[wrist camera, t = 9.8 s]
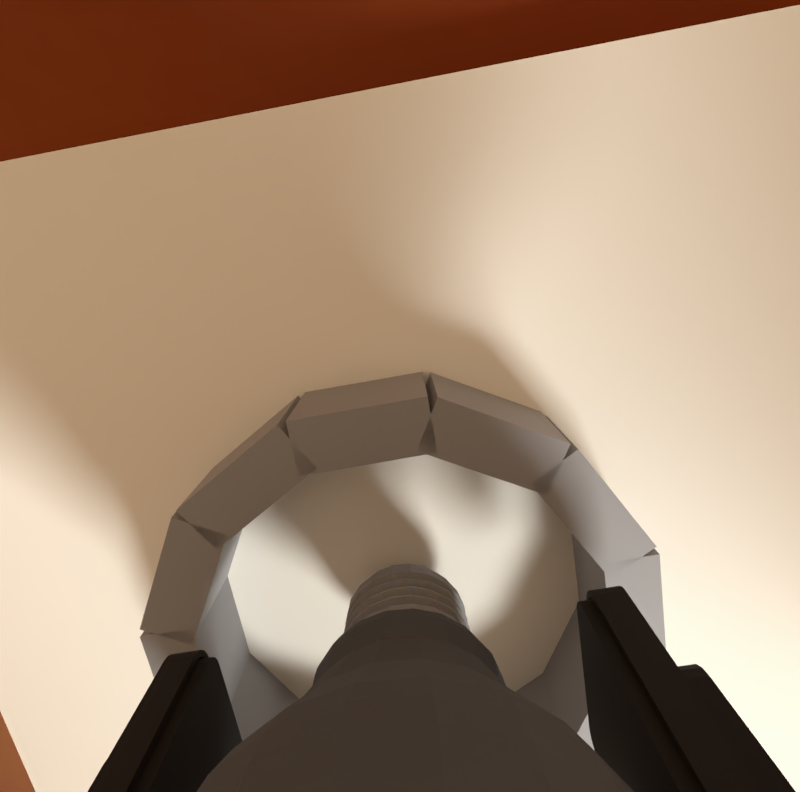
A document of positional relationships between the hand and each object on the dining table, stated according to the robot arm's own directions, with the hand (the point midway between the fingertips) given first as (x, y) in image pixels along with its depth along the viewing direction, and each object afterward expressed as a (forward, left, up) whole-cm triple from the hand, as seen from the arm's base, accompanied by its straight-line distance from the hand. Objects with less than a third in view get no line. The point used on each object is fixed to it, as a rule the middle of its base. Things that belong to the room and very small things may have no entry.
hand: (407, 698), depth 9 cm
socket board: (0, 0, -5) cm, 5 cm away
